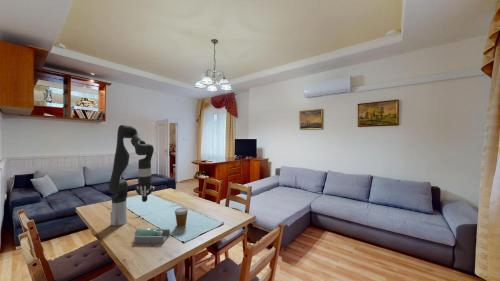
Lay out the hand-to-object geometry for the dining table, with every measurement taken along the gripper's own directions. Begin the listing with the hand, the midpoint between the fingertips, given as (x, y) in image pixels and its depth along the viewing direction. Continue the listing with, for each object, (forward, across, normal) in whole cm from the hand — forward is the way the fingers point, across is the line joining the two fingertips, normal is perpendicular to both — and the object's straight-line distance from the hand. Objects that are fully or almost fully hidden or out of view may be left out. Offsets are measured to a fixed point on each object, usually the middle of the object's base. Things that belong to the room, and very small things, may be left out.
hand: (144, 201), depth 128 cm
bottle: (+21, -6, +1) cm, 22 cm away
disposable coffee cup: (+25, +17, +19) cm, 36 cm away
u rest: (+25, +5, 0) cm, 25 cm away
